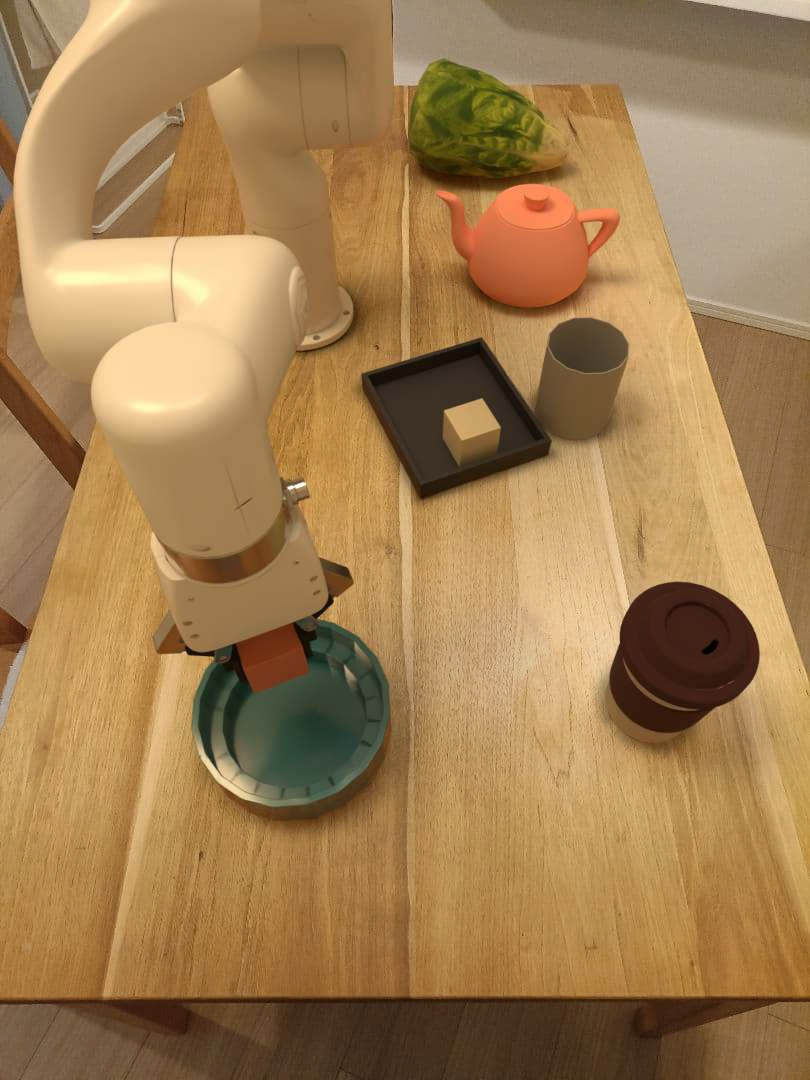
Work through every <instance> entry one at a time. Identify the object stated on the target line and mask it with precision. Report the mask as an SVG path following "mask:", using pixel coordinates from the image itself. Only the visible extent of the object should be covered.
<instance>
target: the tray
mask: <svg viewBox="0 0 810 1080" xmlns="http://www.w3.org/2000/svg"><path fill="white" fill-rule="evenodd" d="M360 377H361V386H362V388H361V389H362V391H363V393H364V395H365V397H366V398H367V400H368V402H369V404H370V407H371V408H372V410H373V412H374V414H375V416H376V418H377V420H378V422H379V423H380V425H381V427H382V430H383V431H384V433H385V435H386V437H387V439H388V440H389V443H390V444H391V447H392V448H393V450H394V452H395V454H396V456H397V458H398V460H399V462H400V464H401V465H402V467H403V469H404V471H405V473H406V475H407V477H408V478H409V480H410V482H411V484H412V486H413V488H414V490H415V492H416V494H417V496H418V497H419V499H420V500H421V499H426V498H428V497H430V496H434V495H436V494H439V493H442V492H446V491H449V490H452V489H453V488H457V487H460V486H463V485H466V484H468V483H472V482H475V481H477V480H480V479H483V478H486V477H490V476H492V475H495V474H497V473H501V472H504V471H507V470H510V469H513V468H516V467H518V466H522V465H524V464H527V463H530V462H533V461H536V460H538V459H539V460H540V459H542V458H545V457H547V456H550V450H551V447H552V441H553V440H552V439H551V437H550V435H549V434H548V433H547V430H546V429H545V428H543V427H542V425H541V424H540V422H539V421H538V419H537V417H536V415H535V413H534V412H533V411H532V408H531V407H530V406H529V404H528V403H527V401H526V400H525V398H524V397H523V395H522V394H521V392H520V391H519V390H518V388H517V387H516V385H515V383H514V382H513V381H512V379H511V378H510V376H509V375H508V373H507V371H506V370H505V369H504V367H503V366H502V364H501V363H500V361H499V360H498V358H496V356H495V354H494V353H493V351H492V350H491V348H490V347H489V346H488V343H486V341H485V339H484V338H483V337H482V336H481V337H478V338H474V339H470V340H467V341H464V342H461V343H458V344H454V345H451V346H448V347H445V348H441V349H438V350H435V351H431V352H428V353H424V354H421V355H418V356H415V357H411V358H408V359H405V360H402V361H401V360H400V361H397V362H395V363H392V364H388V365H385V366H382V367H378V368H375V369H371V370H368V371H365V372H362V373H360ZM481 398H482V399H483V400H484V402H485V403H486V405H487V406H488V408H489V410H490V411H491V413H492V414H493V416H494V417H495V419H496V421H497V422H498V424H499V425H500V427H501V430H500V438H499V445H498V452H497V455H494V456H491V457H488V458H485V459H482V460H479V461H476V462H473V463H470V464H467V465H464V466H461V467H459V466H458V464H457V462H456V461H455V459H454V457H453V455H452V454H451V452H450V450H449V448H448V447H447V445H446V443H445V441H444V440H443V421H444V410H447V409H450V408H453V407H457V406H460V405H463V404H466V403H469V402H472V401H475V400H478V399H481Z"/></svg>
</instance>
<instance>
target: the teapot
mask: <svg viewBox="0 0 810 1080" xmlns="http://www.w3.org/2000/svg"><path fill="white" fill-rule="evenodd" d="M435 195H436V196H437V197H438V198H440V199H442V201H443V202H444V203H445V204H446V205H447V207H448V209H449V212H450V225H451V226H450V231H451V239H452V245H453V246H454V249H455V251H456V252H457V254H459V256H460V257H461V258H462V259H464V260H466V263H467V268H468V269H467V270H468V271H469V275H470V277H471V279H472V281H473V282H474V284H475V285H476V286H477V287H478V288H479V289H480V290H481V291H482V292H483V293H484V294H485V295H486V296H488V297H489V298H491V299H492V300H494V301H495V302H497V303H501V304H503V305H507V306H511V307H517V308H527V309H528V308H542V307H547V306H551V305H553V304H555V303H559V302H561V301H562V300H564V299H566V298H567V297H569V296H570V295H571V294H574V292H576V291H577V290H578V289H579V288H580V286H581V285H582V283H583V282H584V280H585V279H586V276H587V272H588V267H589V260H590V259H591V258H592V256H594V255H595V254H596V253H597V252H598V251H599V250H600V249H601V248H602V247H603V246H604V245H605V244H606V243H607V242H608V241H609V240H610V239H611V238H612V236H613V235H614V234H615V232H616V230H617V228H618V227H619V224H620V221H621V215H620V213H619V212H618V211H617V210H616V209H614V208H610V207H599V208H598V207H597V208H591V209H585V210H578V208H577V207H576V204H575V203H574V201H573V199H572V198H571V197H570V195H569V194H567V193H565V192H564V191H562V190H561V189H559V188H556V187H554V186H551V185H547V184H540V183H539V184H538V183H524V184H517V185H514V186H511V187H509V188H507V189H505V190H503V191H502V192H501V193H500V194H498V196H497V197H495V199H494V200H493V201H492V202H491V203H490V204H489V206H488V207H487V208H486V209H485V210H484V212H483V213H482V215H481V216H480V218H479V219H478V221H477V224H476V225H475V228H474V230H473V229H472V228H470V227H469V226H468V225H467V223H466V219H465V218H466V217H465V207H464V204H463V202H462V200H461V198H460V197H459V196H458V195H456V194H454V193H451V192H450V191H446V190H436V191H435ZM592 222H599V223H600V222H601V223H602V224H601V227H600V228H599V230H598V232H597V234H596V235H595V236H594V238H593V239H592V240H591V242H589V241H588V236H587V231H586V228H585V225H584V224H585V223H592Z"/></svg>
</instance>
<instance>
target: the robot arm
mask: <svg viewBox="0 0 810 1080" xmlns="http://www.w3.org/2000/svg"><path fill="white" fill-rule="evenodd" d="M392 14H393V13H392V0H89V7H88V12H87V14H86V17H85V19H84V21H83V23H82V24H81V26H80V28H79V29H78V30H77V32H76V33H75V35H74V36H73V37H72V39H71V40H70V41H69V42H68V44H67V45H66V46H65V48H64V49H63V51H62V52H61V54H60V55H59V56H58V58H57V60H56V61H55V63H54V64H53V66H52V67H51V69H50V71H49V72H48V74H47V76H46V77H45V79H44V81H43V83H42V85H41V88H40V90H39V92H38V95H37V97H36V99H35V100H34V103H33V105H32V108H31V110H30V112H29V115H28V118H27V120H26V123H25V125H24V128H23V131H22V135H21V138H20V140H19V145H18V148H17V153H16V156H15V162H14V163H15V164H14V170H13V171H14V172H13V205H14V216H15V226H16V227H15V228H16V235H17V236H16V237H17V246H18V256H19V265H20V266H19V267H20V274H21V282H22V291H23V296H24V302H25V308H26V311H27V317H28V321H29V325H30V329H31V332H32V335H33V337H34V339H35V342H36V345H37V347H38V349H39V351H40V352H41V354H42V356H43V357H44V359H45V360H46V362H47V363H49V365H50V366H51V368H52V369H54V370H55V371H56V372H57V373H58V374H60V375H61V376H63V377H65V378H67V379H68V380H71V381H73V382H75V383H77V384H82V385H90V399H91V407H92V411H93V413H94V417H95V420H96V421H97V424H98V426H99V429H100V431H101V433H102V435H103V437H104V438H105V440H106V443H107V444H108V446H109V448H110V450H111V453H112V454H113V456H114V458H115V459H116V461H117V463H118V466H119V468H120V469H121V471H122V473H123V475H124V477H125V479H126V481H127V483H128V485H129V487H130V489H131V491H132V492H133V495H134V496H135V499H136V500H137V502H138V505H139V506H140V509H141V510H142V512H143V514H144V517H145V519H146V520H147V522H148V524H149V526H150V528H151V530H152V533H151V536H150V541H149V542H150V552H151V559H152V563H153V567H154V570H155V575H156V578H157V580H158V583H159V586H160V588H161V590H162V594H163V597H164V599H165V602H166V604H167V608H168V610H167V613H166V614H165V616H164V617H163V619H162V620H161V622H160V624H159V625H158V626H157V628H156V630H155V631H154V633H153V635H152V641H153V644H154V648H155V649H154V650H155V653H156V654H158V655H176V654H177V655H178V654H179V655H181V654H182V653H186V654H187V656H191V657H208V658H209V657H210V658H211V657H212V658H213V660H214V661H215V663H218V664H220V663H222V665H223V667H224V669H225V671H226V673H227V672H230V671H233V670H234V671H235V673H236V675H237V677H238V679H239V681H240V683H244V682H246V681H247V677H246V675H245V672H244V670H243V667H242V664H241V659H240V656H239V653H238V650H237V647H236V644H235V643H237V642H240V641H243V640H246V639H248V638H251V637H254V636H257V635H260V634H262V633H265V632H268V631H271V630H273V629H276V628H279V627H281V626H284V625H287V624H290V623H292V622H293V625H294V628H295V630H296V633H297V636H298V638H299V639H300V641H301V644H302V647H303V650H304V654H305V657H307V659H308V658H311V657H313V653H312V649H311V645H310V642H311V641H314V640H316V639H317V636H316V632H315V629H316V628H317V627H318V625H319V624H318V621H317V619H320V617H321V616H322V615H323V614H324V613H325V612H327V610H328V609H329V608H330V607H331V606H332V605H333V604H334V601H335V600H334V598H336V597H337V598H339V596H341V595H343V594H344V593H345V592H346V591H347V590H349V589H350V588H351V587H352V586H353V585H354V584H355V579H354V578H353V576H352V574H351V571H350V569H349V567H348V566H345V565H343V564H339V563H337V562H334V561H331V560H328V559H326V558H324V557H320V556H319V554H318V551H317V547H316V544H315V542H314V538H313V535H312V533H311V530H310V528H309V525H308V523H307V520H306V518H305V516H304V513H303V511H302V510H301V507H300V506H299V504H300V502H302V501H305V500H308V499H311V494H310V491H309V488H308V485H307V482H306V480H305V478H304V476H300V477H298V478H294V479H291V478H288V479H285V478H284V476H280V473H279V469H278V464H277V461H276V457H275V456H276V455H275V452H274V448H273V446H272V442H271V437H270V432H269V429H268V428H269V427H268V424H269V423H268V422H269V419H270V416H271V414H272V410H273V408H274V405H275V403H276V400H277V397H278V395H279V392H280V390H281V387H282V385H283V382H284V380H285V378H286V376H287V373H288V371H289V369H290V366H291V364H292V362H293V359H294V357H295V355H296V351H299V352H300V351H301V352H302V351H310V350H311V351H312V350H316V349H320V348H323V347H325V346H329V345H330V344H332V343H334V342H335V341H337V340H339V339H340V338H342V336H343V335H345V334H346V332H348V330H349V329H350V327H351V325H352V323H353V320H354V313H355V312H354V304H353V299H352V298H351V296H350V294H349V292H347V291H346V290H345V288H343V287H342V286H341V285H339V277H338V267H337V258H336V248H335V246H336V245H335V239H334V238H335V237H334V227H333V217H332V208H331V198H330V197H331V196H330V189H329V183H328V180H327V178H326V174H325V172H324V170H323V168H322V166H321V164H320V163H319V162H318V160H317V159H316V157H315V156H314V154H313V153H312V152H311V151H312V150H313V151H315V150H334V149H335V150H339V149H340V150H341V149H357V148H368V147H372V146H374V145H378V144H379V143H380V142H382V141H383V140H384V139H385V138H386V136H387V134H388V132H389V130H390V128H391V124H392V120H393V114H394V56H393V54H394V53H393V22H392V21H393V17H392ZM205 89H206V92H207V97H208V102H209V106H210V108H211V112H212V115H213V118H214V120H215V123H216V126H217V128H218V131H219V133H220V135H221V138H222V141H223V144H224V147H225V148H226V153H227V154H228V157H229V161H230V164H231V168H232V171H233V175H234V179H235V183H236V188H237V193H238V197H239V201H240V206H241V211H242V215H243V220H244V226H245V229H246V230H245V231H246V234H223V235H219V234H218V235H197V236H182V235H172V236H171V235H170V236H150V237H149V236H147V237H122V238H121V237H120V238H98V239H94V233H93V231H94V230H93V210H94V204H95V198H96V193H97V189H98V185H99V184H100V180H101V177H102V175H103V173H104V171H105V170H106V168H107V167H108V165H109V163H110V161H111V159H112V158H113V157H114V156H115V154H116V153H117V152H118V150H119V149H120V148H121V147H122V146H123V145H124V144H125V143H126V142H127V141H128V140H129V139H130V138H131V137H132V136H133V135H134V134H136V133H137V132H138V131H139V130H141V129H142V128H144V126H146V125H147V124H148V123H150V122H152V121H154V119H157V118H159V116H161V115H163V114H164V113H166V112H167V111H170V109H172V108H173V107H175V106H177V105H179V104H180V103H182V102H183V101H185V100H187V99H189V98H190V97H192V96H194V95H196V94H198V93H199V92H201V91H203V90H205ZM310 150H311V151H310Z"/></svg>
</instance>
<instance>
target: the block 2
mask: <svg viewBox="0 0 810 1080" xmlns="http://www.w3.org/2000/svg"><path fill="white" fill-rule="evenodd" d="M500 430H501V427H500V425H499V424H498V422H497V421H496V419H495V417H494V416H493V414H492V413H491V411H490V410H489V408H488V406H487V405H486V403H485V402H484V400H483V399H482V398H481V399H478V400H475V401H472V402H469V403H466V404H463V405H460V406H457V407H453V408H450V409H447V410H444V421H443V440H444V441H445V443H446V445H447V447H448V448H449V450H450V452H451V454H452V455H453V457H454V459H455V461H456V462H457V464H458V466H459V467H461V466H464V465H467V464H470V463H473V462H476V461H479V460H482V459H485V458H488V457H491V456H494V455H497V452H498V445H499V438H500Z"/></svg>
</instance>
